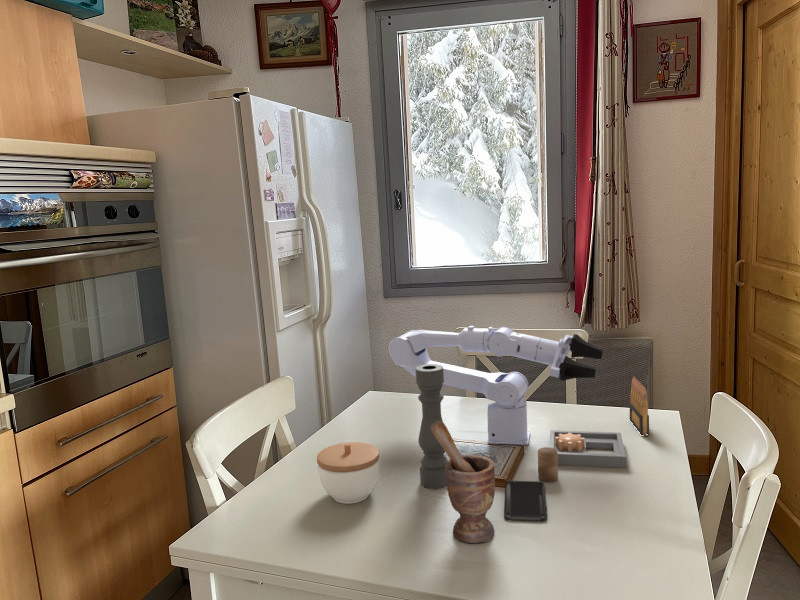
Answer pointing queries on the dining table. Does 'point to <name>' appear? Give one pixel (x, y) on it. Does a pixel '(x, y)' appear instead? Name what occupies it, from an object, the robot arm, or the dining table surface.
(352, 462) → the lidded bowl
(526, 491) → the phone
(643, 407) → the ammunition clip
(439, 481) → the candle holder
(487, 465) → the mortar and pestle
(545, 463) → the brown rounded cylinder
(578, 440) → the housing
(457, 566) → the dining table surface
